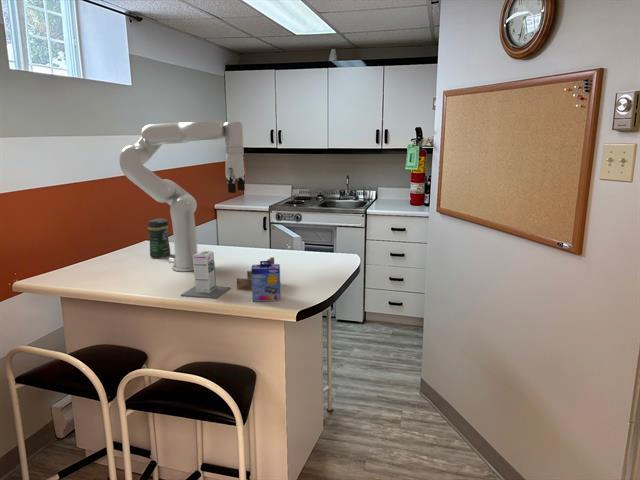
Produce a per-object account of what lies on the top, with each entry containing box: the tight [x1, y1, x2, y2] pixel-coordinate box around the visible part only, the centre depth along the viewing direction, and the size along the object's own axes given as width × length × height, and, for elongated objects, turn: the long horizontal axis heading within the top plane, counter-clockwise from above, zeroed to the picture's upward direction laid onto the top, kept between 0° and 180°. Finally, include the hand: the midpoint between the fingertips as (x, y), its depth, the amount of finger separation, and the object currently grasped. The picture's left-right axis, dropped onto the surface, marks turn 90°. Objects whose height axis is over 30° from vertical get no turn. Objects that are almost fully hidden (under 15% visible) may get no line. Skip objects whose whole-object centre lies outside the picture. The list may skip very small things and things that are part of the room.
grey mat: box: [180, 285, 231, 300], centre depth 175 cm, size 14×12×1 cm
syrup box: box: [193, 250, 217, 293], centre depth 173 cm, size 6×6×14 cm
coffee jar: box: [147, 217, 171, 259], centre depth 228 cm, size 10×8×19 cm
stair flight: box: [236, 256, 275, 291], centre depth 180 cm, size 11×11×10 cm
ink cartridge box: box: [250, 260, 282, 303], centre depth 164 cm, size 10×6×14 cm, turn 95°
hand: (236, 191), depth 203 cm, fingers open, 9 cm apart
